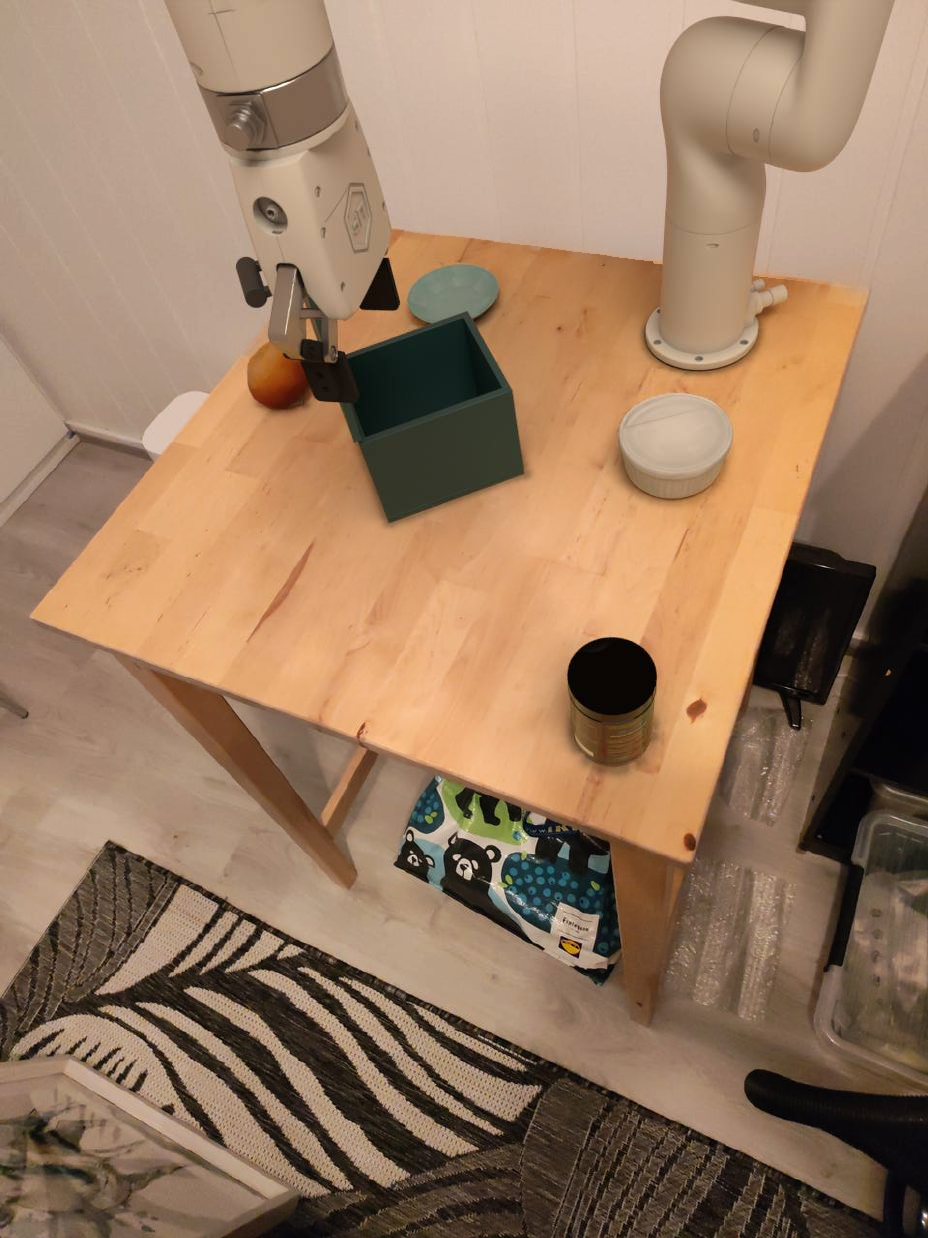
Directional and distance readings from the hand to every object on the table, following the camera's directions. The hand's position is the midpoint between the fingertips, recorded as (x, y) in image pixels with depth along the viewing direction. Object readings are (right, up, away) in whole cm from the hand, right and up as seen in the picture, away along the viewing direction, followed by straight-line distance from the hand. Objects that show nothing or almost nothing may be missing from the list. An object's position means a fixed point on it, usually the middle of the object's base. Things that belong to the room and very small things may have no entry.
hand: (360, 351), depth 57 cm
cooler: (+5, -1, +32) cm, 33 cm away
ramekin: (+29, -3, +26) cm, 40 cm away
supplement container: (+20, -29, +12) cm, 37 cm away
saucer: (+6, +21, +46) cm, 51 cm away
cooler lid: (-5, +7, +15) cm, 18 cm away
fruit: (-14, +9, +42) cm, 46 cm away
